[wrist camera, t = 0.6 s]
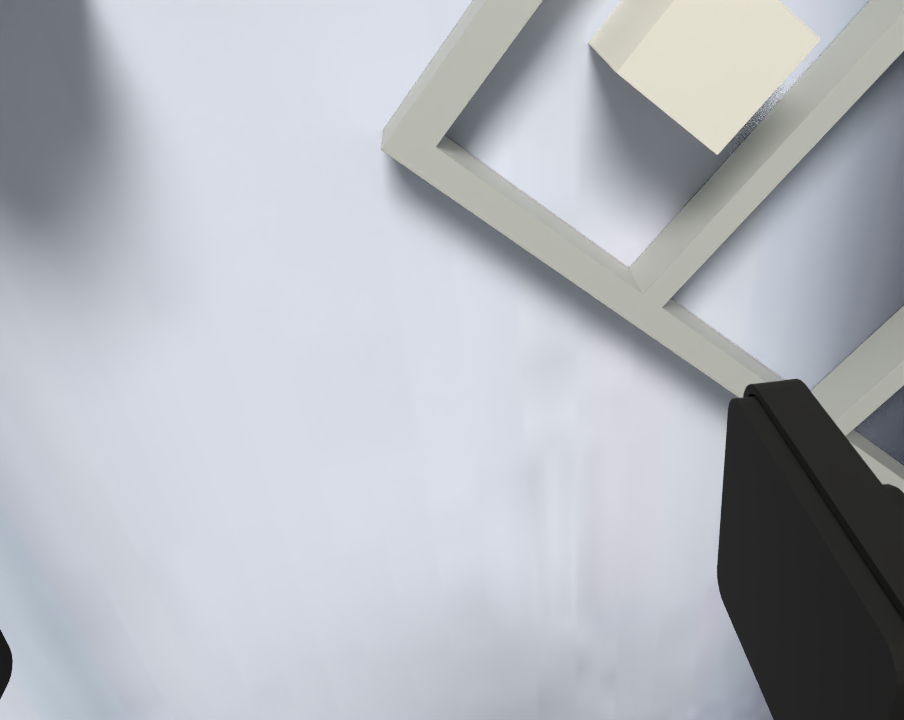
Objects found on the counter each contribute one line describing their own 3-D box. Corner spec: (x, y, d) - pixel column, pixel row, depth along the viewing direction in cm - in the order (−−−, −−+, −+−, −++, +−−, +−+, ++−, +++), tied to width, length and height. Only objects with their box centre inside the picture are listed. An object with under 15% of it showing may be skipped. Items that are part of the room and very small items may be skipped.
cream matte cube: (673, -70, 29) (718, -56, 25) (763, 13, 31) (820, 39, 27) (587, 42, 31) (616, 72, 27) (676, 115, 33) (717, 155, 28)
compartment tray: (749, -399, 25) (803, -438, 22) (1316, 247, 37) (1410, 288, 33) (382, 130, 32) (379, 163, 29) (951, 529, 44) (997, 586, 41)
